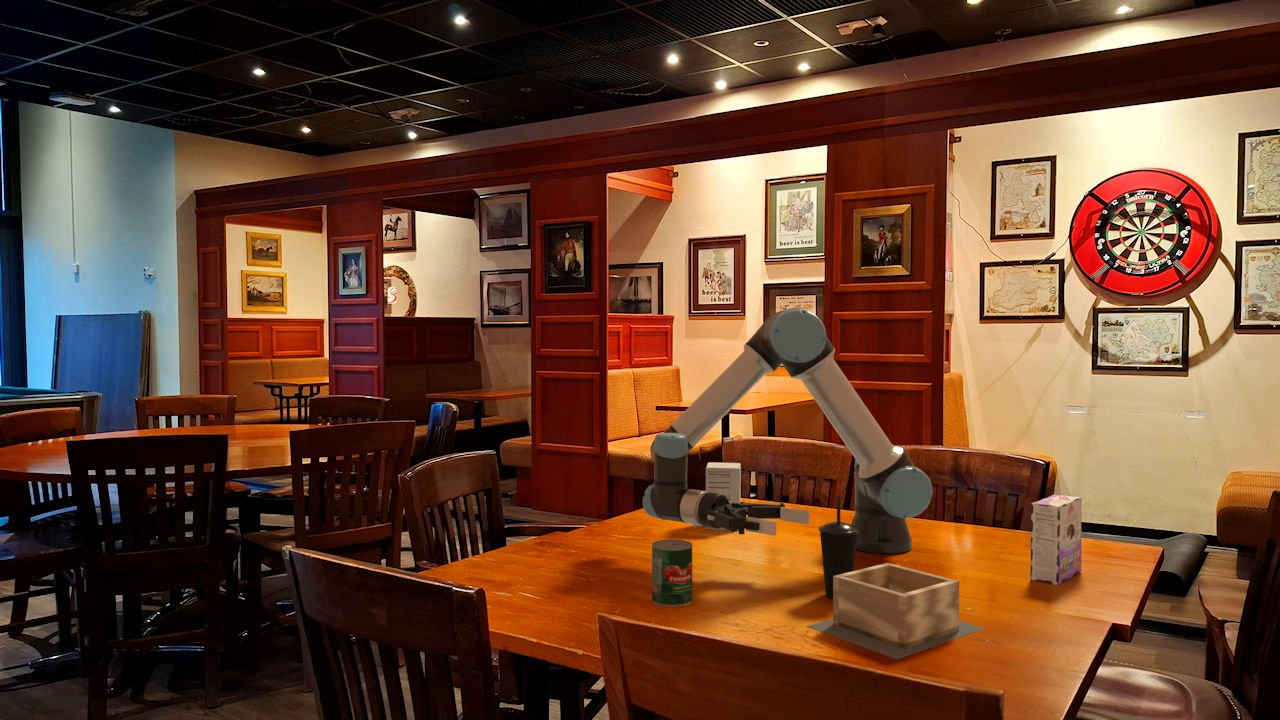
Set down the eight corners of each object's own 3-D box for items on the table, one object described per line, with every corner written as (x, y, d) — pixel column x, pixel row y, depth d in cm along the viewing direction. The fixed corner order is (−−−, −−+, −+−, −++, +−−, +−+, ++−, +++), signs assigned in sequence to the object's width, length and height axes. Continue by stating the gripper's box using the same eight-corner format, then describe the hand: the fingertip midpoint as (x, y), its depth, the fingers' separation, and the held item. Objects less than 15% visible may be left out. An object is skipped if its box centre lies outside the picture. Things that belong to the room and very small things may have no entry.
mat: (894, 603, 162) (894, 601, 162) (985, 630, 146) (985, 628, 146) (806, 628, 148) (806, 626, 148) (896, 661, 132) (897, 659, 132)
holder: (887, 608, 157) (887, 562, 157) (959, 630, 145) (959, 581, 145) (833, 624, 149) (833, 576, 148) (904, 649, 136) (904, 596, 136)
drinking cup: (813, 592, 168) (813, 492, 168) (851, 591, 169) (851, 492, 169) (825, 604, 161) (825, 499, 160) (864, 603, 161) (864, 499, 161)
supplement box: (707, 522, 234) (707, 461, 233) (741, 523, 233) (741, 462, 232) (705, 530, 224) (705, 467, 224) (740, 531, 223) (740, 467, 223)
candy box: (1053, 567, 187) (1054, 493, 186) (1082, 572, 182) (1082, 496, 182) (1029, 580, 177) (1029, 501, 177) (1058, 585, 173) (1059, 505, 172)
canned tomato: (679, 609, 158) (679, 550, 158) (644, 602, 163) (643, 545, 162) (699, 598, 165) (699, 542, 165) (665, 592, 169) (664, 537, 169)
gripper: (736, 517, 194) (821, 531, 181) (671, 536, 175) (760, 553, 161) (737, 484, 194) (821, 496, 180) (671, 499, 175) (760, 513, 161)
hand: (792, 523), depth 171 cm, fingers open, 13 cm apart
